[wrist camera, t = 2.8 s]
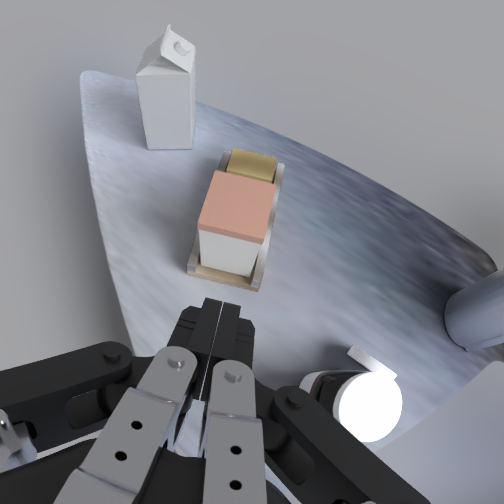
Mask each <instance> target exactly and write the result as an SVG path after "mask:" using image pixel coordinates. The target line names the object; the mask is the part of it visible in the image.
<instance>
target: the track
mask: <svg viewBox="0 0 504 504" xmlns="http://www.w3.org/2000/svg"><path fill="white" fill-rule="evenodd" d="M276 160H277V158H275V157H271V156H267V155H263V154H258V153H254V152H250V151H246V150H241V149H237V148H233V151H232V154H231V151H228V150H224V153H223V156H222V159H221V162H220V165H219V167H218V170H217V171H221V172H225V173H230V174H234V175H239V176H243V177H247V178H251V179H255V180H260V181H264V182H268V183H272V184H276V187H275V191H274V196H273V201H272V206H271V211H270V215H269V220H268V225H267V230H266V234H265V239H264V242H263V244H261V246H260V249H259V252H258V255H257V257H256V260H255V263H254V266H253V268H252V271H251V274H250V276H249V277H246V276H242V275H238V274H234V273H230V272H226V271H222V270H218V269H213V268H209V267H205V266H201V256H200V238H199V229H198V231H197V234H196V237H195V240H194V244H193V247H192V250H191V253H190V257H189V260H188V263H187V269H188V270H187V273H188V275H191V276H194V277H198V278H202V279H206V280H210V281H215V282H219V283H223V284H227V285H231V286H235V287H239V288H243V289H248V290H252V291H256V292H258V290H259V288H260V284H261V281H262V276H263V271H264V266H265V262H266V257H267V252H268V247H269V242H270V237H271V232H272V227H273V222H274V217H275V212H276V207H277V202H278V197H279V192H280V187H281V182H282V177H283V172H284V167H285V164H282V163H278V165H277V168H276V171H274V169H275V165H276Z"/></svg>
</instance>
